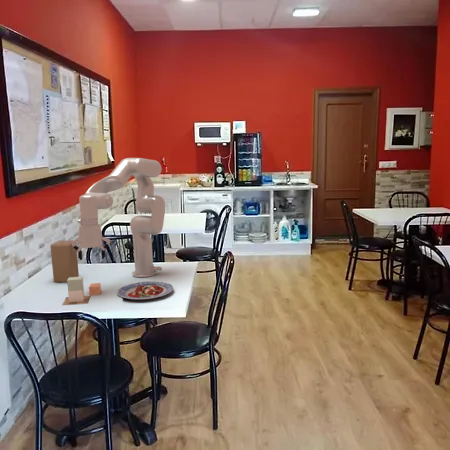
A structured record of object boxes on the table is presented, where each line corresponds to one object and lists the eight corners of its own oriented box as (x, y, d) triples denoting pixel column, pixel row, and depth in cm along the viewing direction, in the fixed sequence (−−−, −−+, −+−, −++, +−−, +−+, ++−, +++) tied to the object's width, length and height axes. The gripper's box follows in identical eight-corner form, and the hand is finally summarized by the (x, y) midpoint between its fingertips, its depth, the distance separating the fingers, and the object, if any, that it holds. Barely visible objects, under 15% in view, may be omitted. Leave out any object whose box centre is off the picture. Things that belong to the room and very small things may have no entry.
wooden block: (79, 277, 253) (76, 240, 250) (71, 282, 244) (68, 244, 240) (61, 277, 254) (58, 240, 251) (53, 282, 245) (49, 244, 241)
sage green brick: (83, 287, 214) (82, 276, 213) (82, 290, 210) (81, 279, 209) (69, 288, 213) (68, 277, 212) (68, 291, 209) (67, 280, 208)
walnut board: (91, 297, 219) (91, 295, 218) (88, 305, 208) (88, 303, 208) (66, 299, 217) (66, 297, 217) (62, 307, 206) (61, 305, 206)
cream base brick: (84, 298, 215) (83, 287, 214) (83, 301, 211) (82, 290, 210) (70, 299, 214) (69, 288, 213) (69, 302, 210) (68, 291, 209)
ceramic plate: (129, 285, 237) (128, 279, 237) (179, 286, 233) (179, 280, 233) (108, 302, 212) (107, 296, 212) (164, 304, 208) (164, 297, 208)
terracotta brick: (91, 293, 225) (90, 283, 224) (101, 293, 226) (100, 282, 225) (89, 297, 219) (88, 287, 218) (99, 297, 220) (99, 286, 219)
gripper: (68, 224, 211) (71, 262, 214) (108, 222, 214) (110, 259, 216) (71, 221, 219) (73, 258, 221) (109, 220, 221) (112, 256, 224)
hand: (92, 259), depth 219 cm, fingers open, 9 cm apart
